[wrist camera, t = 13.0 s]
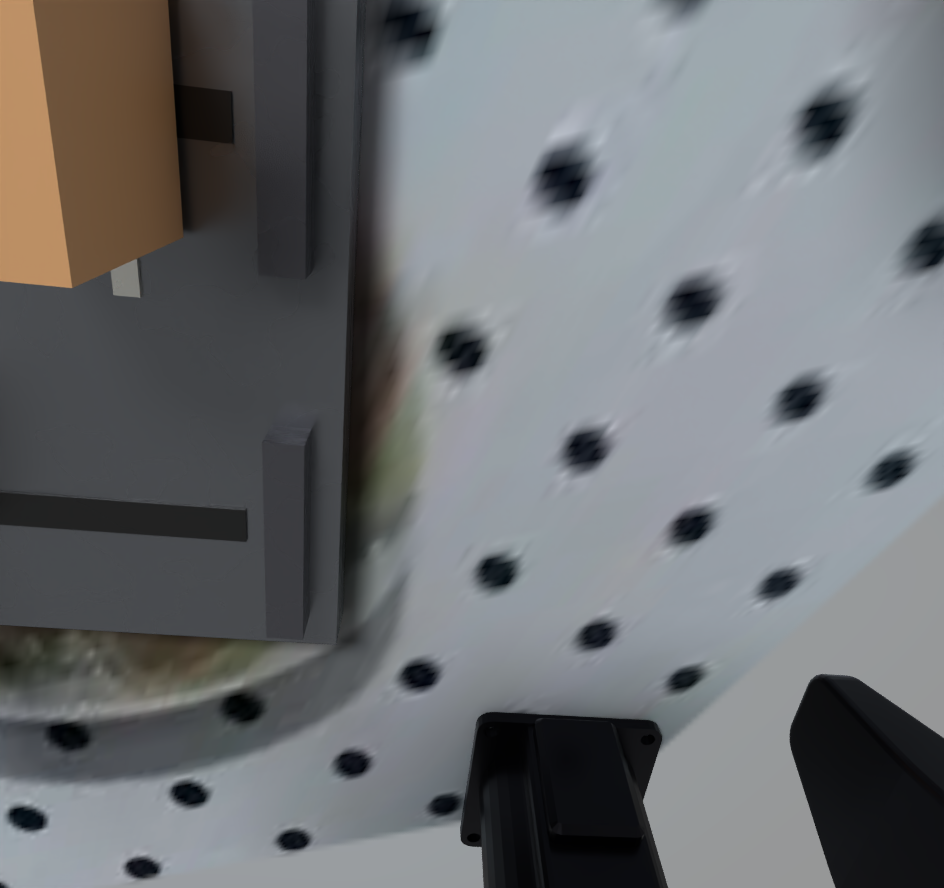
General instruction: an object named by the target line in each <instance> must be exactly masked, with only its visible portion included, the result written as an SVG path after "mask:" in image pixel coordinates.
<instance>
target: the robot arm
mask: <svg viewBox="0 0 944 888" xmlns="http://www.w3.org/2000/svg"><path fill="white" fill-rule="evenodd" d="M488 727H494V728H488ZM645 735H646V736H645ZM661 741H662V735H661V732H660V730H659V727H658V725H657V724H656V723H655V722H653V721H649V720H632V719H613V718H594V717H575V716H556V715H537V714H517V713H498V712H489V713H485V714H483V715H481V716H480V717H479V718H478V720H477V722H476V729H475V735H474V742H473V748H472V755H471V761H470V768H469V774H468V781H467V787H466V794H465V800H464V807H463V813H462V820H461V826H460V834H461V841H462V842H463V843H464V844H465V845H468V846H473V847H482V861H483V881H484V888H668V886H667V883H666V879H665V876H664V872H663V869H662V866H661V862H660V859H659V855H658V852H657V848H656V845H655V841H654V838H653V835H652V831H651V828H650V824H649V821H648V817H647V814H646V811H645V807H644V804H643V798H644V795H645V792H646V789H647V786H648V783H649V780H650V776H651V773H652V770H653V767H654V764H655V761H656V757H657V754H658V751H659V748H660V745H661ZM790 746H791V750H792V754H793V757H794V760H795V763H796V767H797V770H798V773H799V776H800V779H801V782H802V785H803V789H804V792H805V795H806V798H807V801H808V804H809V807H810V810H811V813H812V817H813V820H814V823H815V826H816V829H817V832H818V836H819V839H820V842H821V845H822V848H823V851H824V855H825V858H826V860H827V864H828V867H829V870H830V873H831V876H832V879H833V881H834V884H835V887H836V888H944V738H943V737H941V736H940V735H939V734H937V733H936V732H934V731H933V730H931V729H930V728H928V727H927V726H925V725H924V724H923V723H921V722H920V721H918V720H917V719H915V718H914V717H912V716H911V715H910V714H908V713H907V712H905V711H904V710H902V709H901V708H899V707H898V706H897V705H895V704H894V703H892V702H891V701H889V700H888V699H886V698H885V697H883V696H882V695H881V694H879V693H877V692H876V691H875V690H873V689H872V688H870V687H869V686H867V685H866V684H865V683H863V682H862V681H860V680H859V679H857V678H854V677H851V676H845V675H827V674H820V675H816V676H815V677H814V678H813V679H811V680H810V682H809V684H808V686H807V689H806V691H805V693H804V696H803V698H802V701H801V703H800V705H799V708H798V710H797V713H796V715H795V717H794V720H793V722H792V725H791V729H790Z"/></svg>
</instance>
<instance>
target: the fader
mask: <svg viewBox="0 0 944 888" xmlns="http://www.w3.org/2000/svg"><path fill="white" fill-rule="evenodd" d="M183 237H184V236H183V221H182V206H181V191H180V176H179V161H178V145H177V130H176V115H175V100H174V85H173V70H172V55H171V40H170V25H169V10H168V0H0V281H4V282H14V283H25V284H35V285H45V286H56V287H66V288H74V287H76V286H78V285H80V284H82V283H85V282H87V281H89V280H91V279H93V278H96V277H98V276H100V275H102V274H104V273H107V272H109V271H111V270H113V269H115V268H117V267H120V266H122V265H124V264H126V263H128V262H131V261H133V260H135V259H137V258H139V257H142V256H144V255H146V254H148V253H150V252H153V251H155V250H157V249H159V248H161V247H164V246H166V245H168V244H170V243H172V242H175V241H177V240H179V239H181V238H183Z"/></svg>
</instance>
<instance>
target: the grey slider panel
mask: <svg viewBox="0 0 944 888" xmlns="http://www.w3.org/2000/svg"><path fill="white" fill-rule="evenodd" d="M365 3H366V0H168V10H169V25H170V40H171V55H172V70H173V85H174V100H175V115H176V130H177V145H178V161H179V176H180V191H181V206H182V221H183V236H184V237H183V238H181V239H179V240H177V241H175V242H172V243H170V244H168V245H166V246H164V247H161V248H159V249H157V250H155V251H153V252H150V253H148V254H146V255H144V256H142V257H139V258H137V259H135V260H133V261H131V262H128V263H126V264H124V265H122V266H120V267H117V268H115V269H113V270H111V271H109V272H107V273H104V274H102V275H100V276H98V277H96V278H93V279H91V280H89V281H87V282H85V283H82V284H80V285H78V286H76V287H74V288H66V287H56V286H45V285H35V284H25V283H14V282H4V281H0V625H11V626H28V627H45V628H62V629H79V630H96V631H113V632H130V633H147V634H164V635H181V636H198V637H215V638H232V639H249V640H266V641H283V642H300V643H316V644H333V645H336V643H337V638H338V633H339V628H340V623H341V619H342V614H343V594H344V567H345V540H346V514H347V487H348V460H349V433H350V406H351V379H352V352H353V325H354V299H355V272H356V245H357V218H358V191H359V164H360V137H361V110H362V83H363V57H364V30H365Z"/></svg>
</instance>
